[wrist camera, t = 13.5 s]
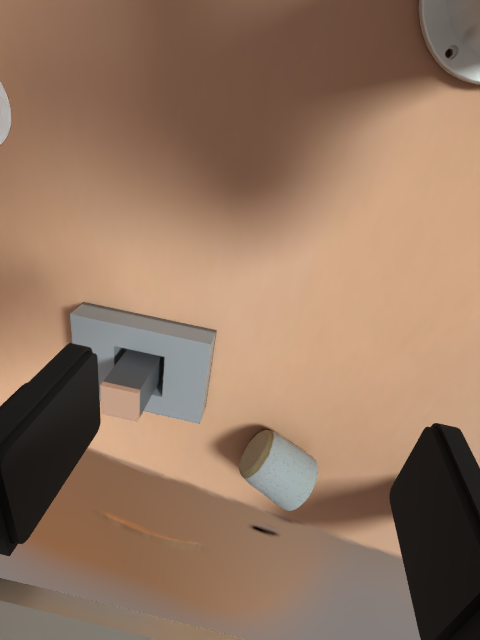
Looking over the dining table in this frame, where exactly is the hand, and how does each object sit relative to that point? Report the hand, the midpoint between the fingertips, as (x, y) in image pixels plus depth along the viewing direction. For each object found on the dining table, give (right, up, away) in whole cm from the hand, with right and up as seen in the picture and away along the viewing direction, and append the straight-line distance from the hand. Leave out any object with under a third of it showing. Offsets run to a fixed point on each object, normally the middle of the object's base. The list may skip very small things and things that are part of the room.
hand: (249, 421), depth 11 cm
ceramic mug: (+4, -15, +41) cm, 43 cm away
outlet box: (-12, -2, +36) cm, 38 cm away
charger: (-12, -2, +35) cm, 37 cm away
